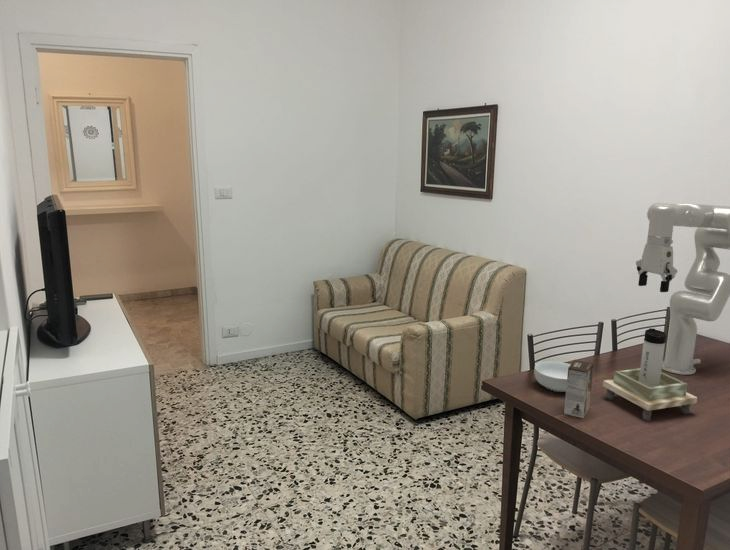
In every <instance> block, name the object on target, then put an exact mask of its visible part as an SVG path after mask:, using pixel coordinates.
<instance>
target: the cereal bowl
mask: <svg viewBox="0 0 730 550" xmlns="http://www.w3.org/2000/svg"><path fill="white" fill-rule="evenodd" d="M570 365H571V364H570V363H566V362H561V361H554V360H553V361H552V360H551V361H549V360H548V361H547V360H546V361H540V362H538V363H536V364H535V366H534V368H533V369H534V370H533V371H534V372H533V373H534V378H535V379H536V381H537V382H538V384H540V385H541V386H543V387H545V388H546V389H547V390H549V389H550V390H549V391H552V390H553V392H557V393H566V387H567V376H568V368H569V366H570Z"/></svg>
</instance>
